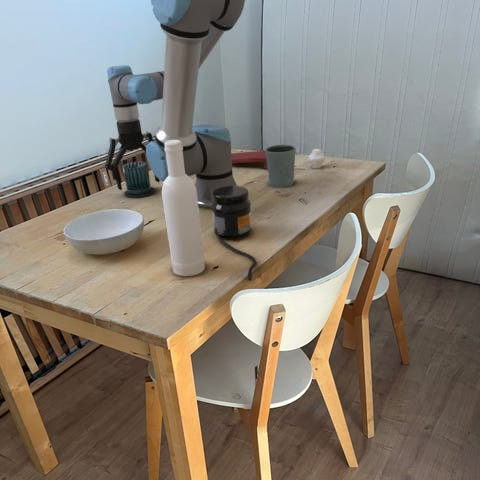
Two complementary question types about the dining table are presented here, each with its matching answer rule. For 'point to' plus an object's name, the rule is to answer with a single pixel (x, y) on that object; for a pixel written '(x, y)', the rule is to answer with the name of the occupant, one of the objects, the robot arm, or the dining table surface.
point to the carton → (250, 157)
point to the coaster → (140, 194)
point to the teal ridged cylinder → (137, 178)
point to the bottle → (182, 214)
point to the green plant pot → (280, 165)
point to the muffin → (316, 158)
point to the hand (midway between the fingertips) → (139, 185)
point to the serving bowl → (104, 231)
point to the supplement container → (231, 212)
